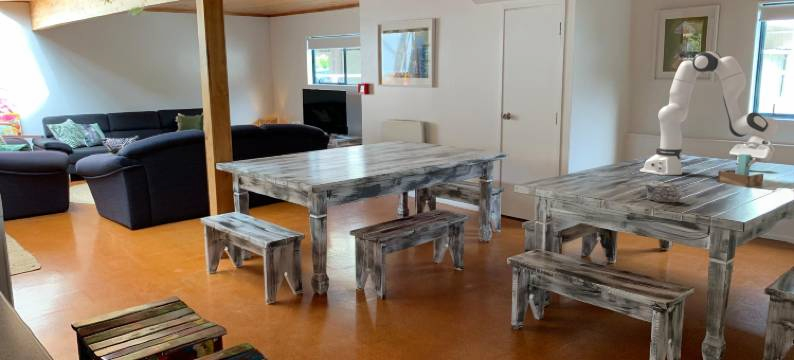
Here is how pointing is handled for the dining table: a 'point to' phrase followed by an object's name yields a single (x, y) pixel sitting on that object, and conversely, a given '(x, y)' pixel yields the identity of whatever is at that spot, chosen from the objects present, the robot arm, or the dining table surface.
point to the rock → (662, 192)
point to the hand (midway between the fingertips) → (743, 165)
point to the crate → (739, 179)
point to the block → (743, 164)
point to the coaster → (766, 187)
